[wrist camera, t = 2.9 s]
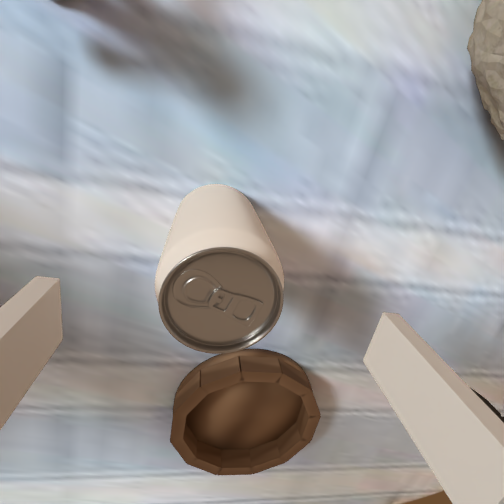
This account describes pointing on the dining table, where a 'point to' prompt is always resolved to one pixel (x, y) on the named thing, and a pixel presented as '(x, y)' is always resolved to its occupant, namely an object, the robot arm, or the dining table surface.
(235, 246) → the can
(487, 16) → the decorative shell
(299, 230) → the dining table surface
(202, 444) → the round tray
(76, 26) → the dining table surface
